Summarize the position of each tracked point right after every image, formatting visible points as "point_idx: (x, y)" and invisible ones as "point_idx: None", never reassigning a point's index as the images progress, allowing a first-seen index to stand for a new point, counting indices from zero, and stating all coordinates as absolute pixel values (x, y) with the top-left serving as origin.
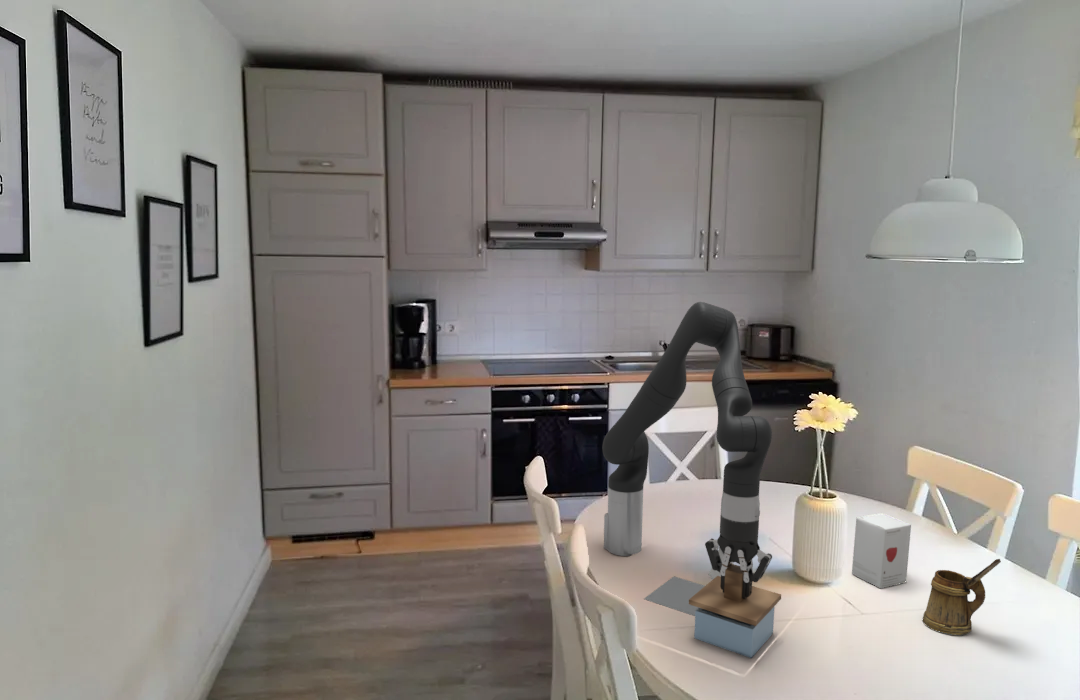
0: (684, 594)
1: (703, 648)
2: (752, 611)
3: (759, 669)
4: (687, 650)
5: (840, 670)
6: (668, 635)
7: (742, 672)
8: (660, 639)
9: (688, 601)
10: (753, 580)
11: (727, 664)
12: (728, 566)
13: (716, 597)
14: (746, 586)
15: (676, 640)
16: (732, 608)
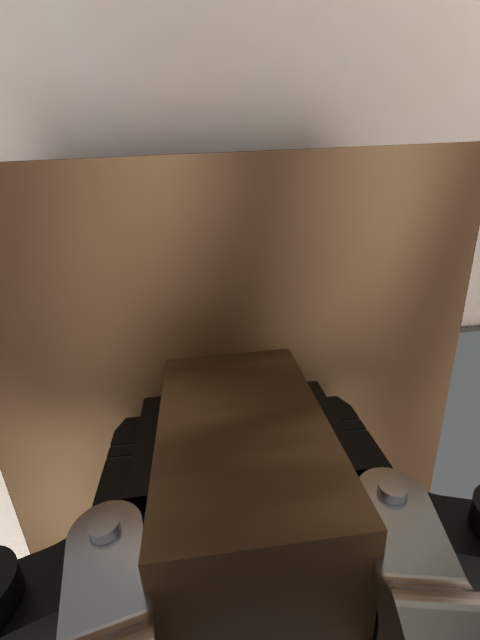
0: (475, 439)
1: (273, 145)
2: (26, 300)
3: (4, 149)
4: (322, 76)
5: None
6: (436, 142)
7: (40, 65)
8: (455, 82)
9: (449, 410)
10: (5, 558)
11: (128, 86)
12: (377, 607)
13: (331, 316)
14: (128, 477)
15: (393, 126)
16: (162, 239)
